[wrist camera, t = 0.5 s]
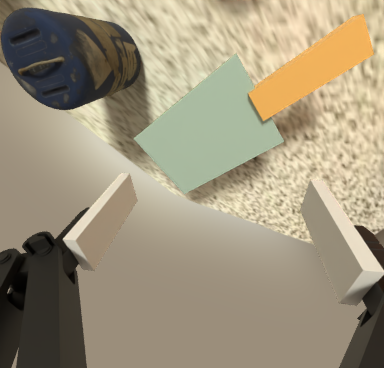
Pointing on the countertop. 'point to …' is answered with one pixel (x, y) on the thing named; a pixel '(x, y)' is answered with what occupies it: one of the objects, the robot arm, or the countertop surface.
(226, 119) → the lid
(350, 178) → the countertop surface
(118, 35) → the canister
